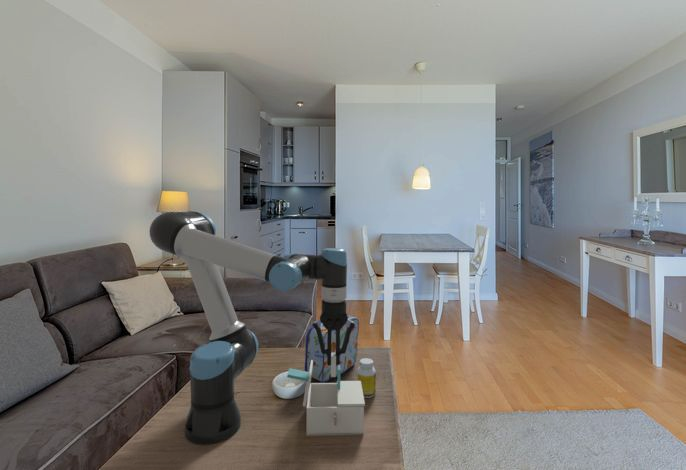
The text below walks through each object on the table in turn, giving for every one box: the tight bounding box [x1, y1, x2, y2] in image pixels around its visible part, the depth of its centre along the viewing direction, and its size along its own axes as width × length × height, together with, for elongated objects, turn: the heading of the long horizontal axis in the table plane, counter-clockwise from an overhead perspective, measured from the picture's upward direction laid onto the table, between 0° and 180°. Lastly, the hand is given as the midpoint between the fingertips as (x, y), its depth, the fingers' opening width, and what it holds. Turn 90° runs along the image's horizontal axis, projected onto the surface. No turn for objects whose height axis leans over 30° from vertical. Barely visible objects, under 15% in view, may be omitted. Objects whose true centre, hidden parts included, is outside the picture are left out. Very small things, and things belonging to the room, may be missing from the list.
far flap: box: [336, 364, 366, 407], centre depth 104 cm, size 8×13×7 cm, turn 2°
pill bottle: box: [356, 357, 377, 399], centre depth 120 cm, size 6×6×12 cm
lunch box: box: [304, 313, 360, 383], centre depth 136 cm, size 28×10×22 cm, turn 148°
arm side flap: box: [286, 360, 313, 407], centre depth 104 cm, size 8×13×7 cm
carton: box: [306, 382, 365, 437], centre depth 104 cm, size 16×16×8 cm
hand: (333, 374), depth 108 cm, fingers closed
